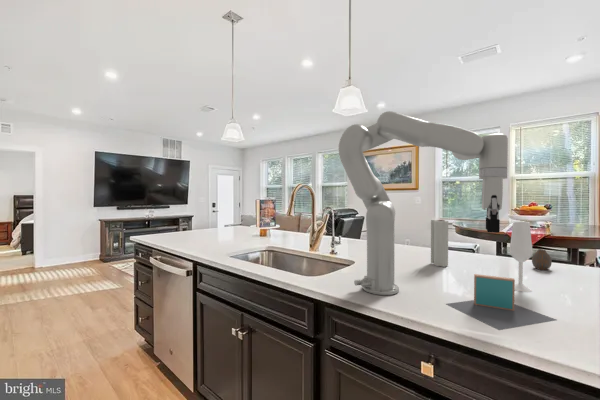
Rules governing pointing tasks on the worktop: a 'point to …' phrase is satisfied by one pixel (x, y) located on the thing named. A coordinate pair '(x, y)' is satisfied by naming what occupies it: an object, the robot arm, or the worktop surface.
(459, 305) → the mat
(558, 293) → the worktop surface
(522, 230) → the champagne flute
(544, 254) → the patterned egg
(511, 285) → the tile
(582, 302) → the worktop surface
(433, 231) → the grey tall block
